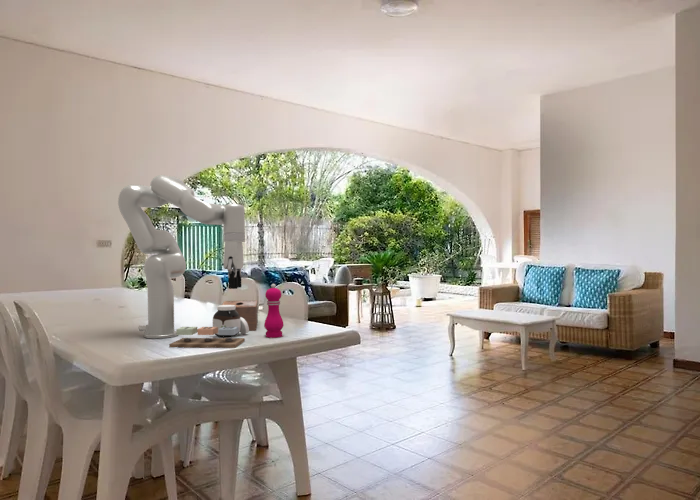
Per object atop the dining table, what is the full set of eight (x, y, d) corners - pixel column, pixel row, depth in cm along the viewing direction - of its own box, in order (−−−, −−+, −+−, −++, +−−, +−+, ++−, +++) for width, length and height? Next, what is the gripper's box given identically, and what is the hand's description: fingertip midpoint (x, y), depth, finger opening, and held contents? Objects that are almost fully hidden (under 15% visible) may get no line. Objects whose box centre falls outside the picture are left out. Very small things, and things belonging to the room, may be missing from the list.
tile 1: (176, 334, 192) (176, 328, 192) (182, 332, 197) (182, 326, 197) (191, 335, 191) (191, 328, 191) (197, 332, 197) (197, 326, 197)
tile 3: (218, 335, 191) (218, 328, 191) (223, 332, 196) (223, 326, 196) (234, 335, 190) (234, 328, 190) (238, 332, 196) (238, 326, 196)
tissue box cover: (256, 331, 222) (255, 306, 222) (219, 332, 220) (219, 307, 220) (257, 322, 248) (257, 300, 248) (224, 323, 246) (224, 300, 246)
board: (169, 347, 189) (169, 341, 189) (182, 341, 201) (182, 335, 201) (235, 347, 187) (235, 342, 187) (244, 341, 199) (244, 335, 199)
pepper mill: (280, 338, 204) (279, 284, 204) (261, 337, 206) (260, 284, 206) (286, 335, 212) (285, 283, 211) (268, 334, 213) (267, 283, 213)
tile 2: (197, 335, 191) (197, 328, 191) (202, 332, 197) (202, 326, 197) (213, 335, 191) (212, 328, 191) (218, 332, 196) (217, 326, 196)
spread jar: (209, 337, 209) (209, 306, 209) (226, 332, 219) (226, 303, 219) (236, 338, 205) (236, 307, 204) (252, 334, 215) (252, 304, 215)
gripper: (230, 238, 210) (231, 286, 210) (216, 238, 193) (217, 290, 193) (250, 238, 209) (250, 286, 209) (237, 237, 192) (238, 290, 193)
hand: (235, 287), depth 201 cm, fingers open, 4 cm apart
